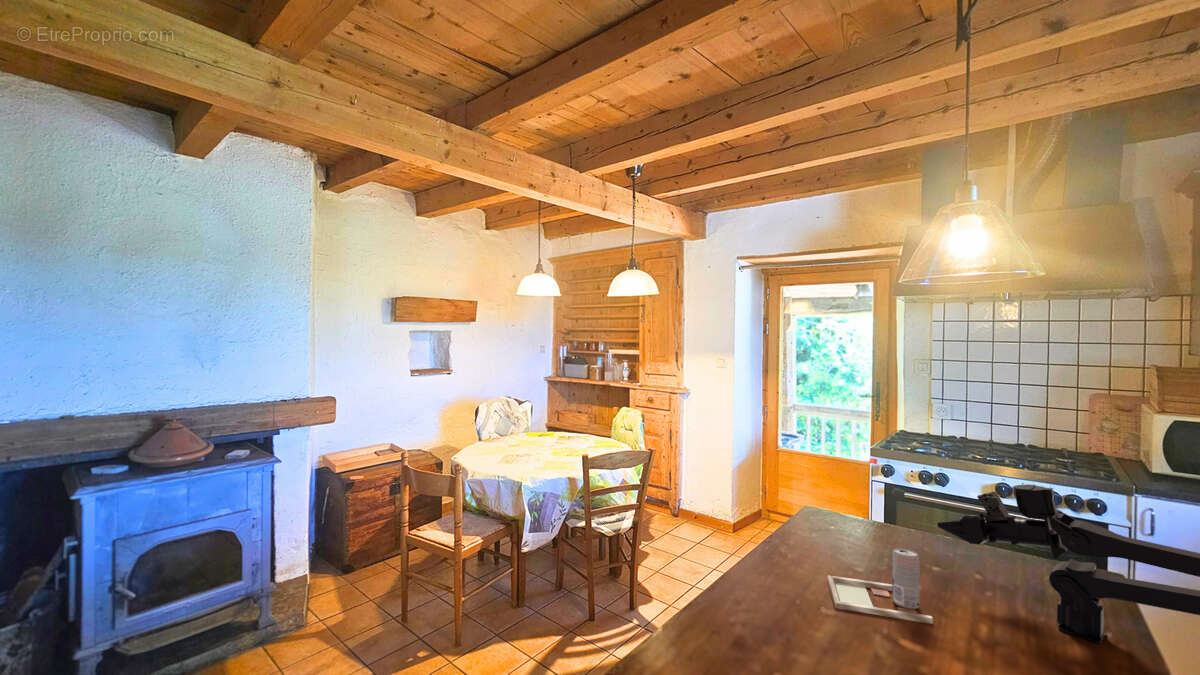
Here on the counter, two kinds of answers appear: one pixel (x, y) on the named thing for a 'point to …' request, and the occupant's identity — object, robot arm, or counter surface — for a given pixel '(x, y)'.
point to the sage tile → (853, 594)
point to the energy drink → (906, 578)
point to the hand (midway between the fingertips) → (944, 523)
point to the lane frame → (877, 590)
